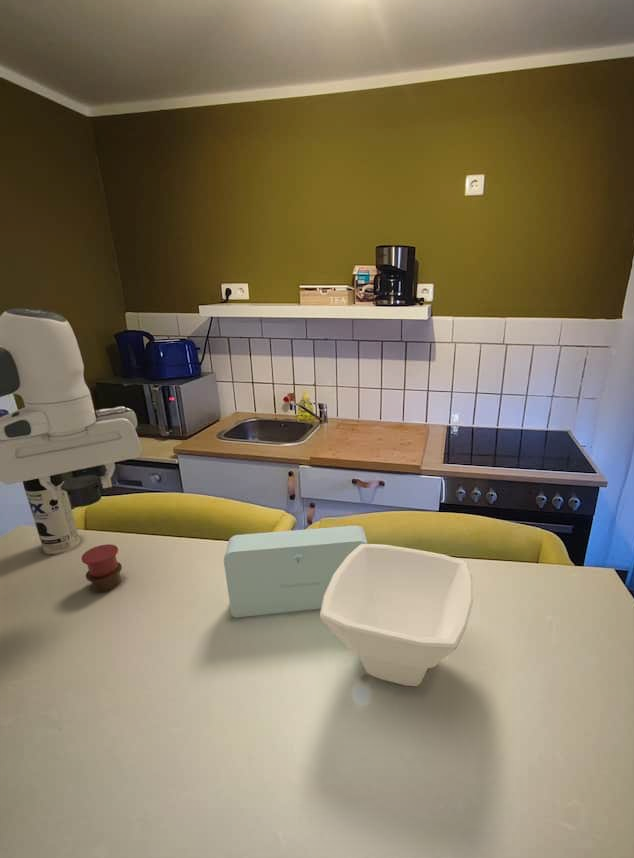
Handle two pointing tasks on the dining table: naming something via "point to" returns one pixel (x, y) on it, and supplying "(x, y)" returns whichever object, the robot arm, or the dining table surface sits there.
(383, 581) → the bowl
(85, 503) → the pod black
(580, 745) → the dining table surface
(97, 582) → the pod brown
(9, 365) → the robot arm
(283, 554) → the mint green box
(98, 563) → the pod burgundy
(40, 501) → the spray can
